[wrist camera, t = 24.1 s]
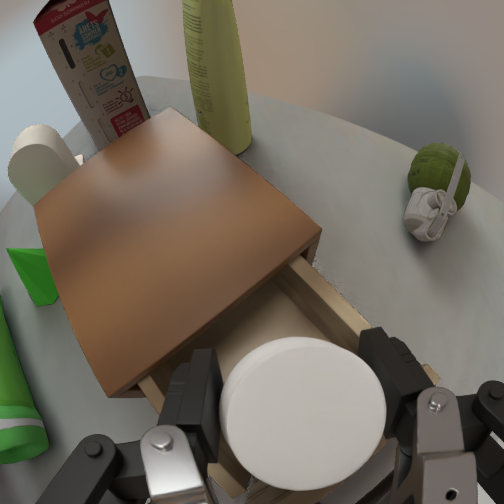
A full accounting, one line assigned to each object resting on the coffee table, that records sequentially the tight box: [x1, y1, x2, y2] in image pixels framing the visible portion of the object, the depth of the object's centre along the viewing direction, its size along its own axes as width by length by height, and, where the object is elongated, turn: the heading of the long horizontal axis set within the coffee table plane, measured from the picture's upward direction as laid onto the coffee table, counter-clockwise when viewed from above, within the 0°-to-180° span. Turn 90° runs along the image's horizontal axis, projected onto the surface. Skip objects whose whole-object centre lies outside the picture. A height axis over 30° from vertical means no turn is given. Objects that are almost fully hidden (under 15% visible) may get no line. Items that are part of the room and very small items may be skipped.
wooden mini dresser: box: [34, 107, 322, 398], centre depth 18 cm, size 15×13×8 cm
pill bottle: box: [219, 337, 386, 491], centre depth 10 cm, size 5×5×9 cm
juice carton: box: [33, 0, 150, 151], centre depth 20 cm, size 7×7×22 cm
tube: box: [182, 0, 252, 155], centre depth 18 cm, size 6×5×20 cm
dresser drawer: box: [138, 254, 441, 504], centre depth 13 cm, size 18×11×6 cm, turn 40°
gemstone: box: [6, 248, 59, 306], centre depth 19 cm, size 6×6×6 cm
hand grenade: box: [403, 143, 471, 241], centre depth 20 cm, size 6×6×10 cm
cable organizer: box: [8, 125, 86, 207], centre depth 21 cm, size 5×10×10 cm, turn 28°
